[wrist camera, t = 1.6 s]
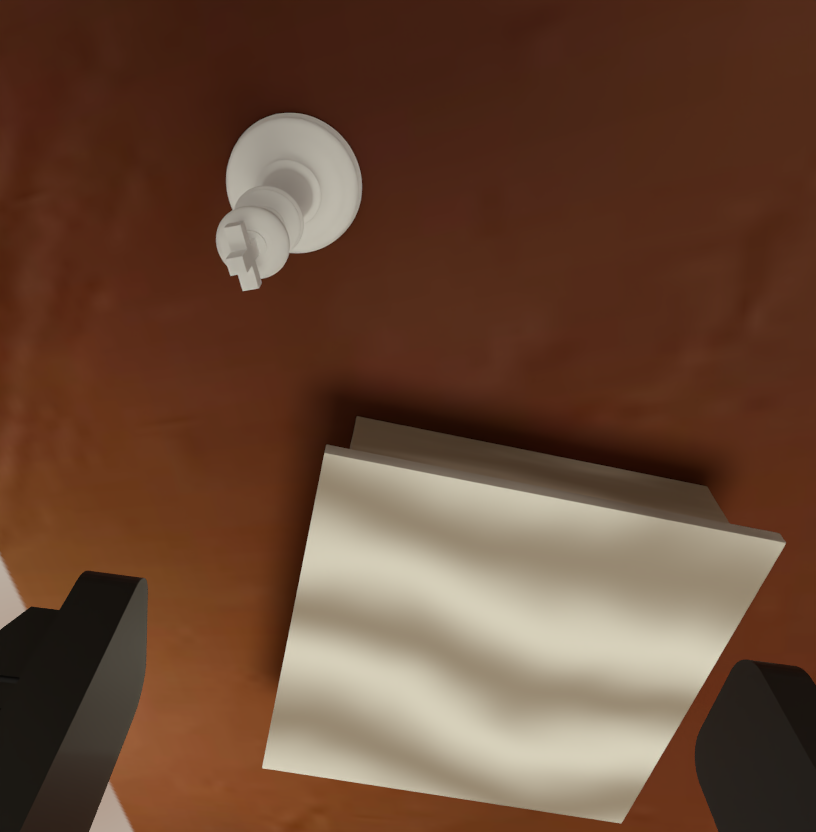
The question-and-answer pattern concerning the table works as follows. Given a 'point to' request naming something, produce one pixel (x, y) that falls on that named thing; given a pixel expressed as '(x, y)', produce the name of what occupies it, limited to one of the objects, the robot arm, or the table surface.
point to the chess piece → (286, 194)
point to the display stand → (503, 621)
